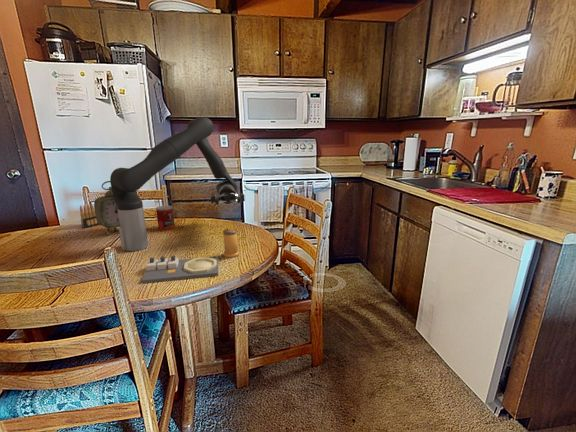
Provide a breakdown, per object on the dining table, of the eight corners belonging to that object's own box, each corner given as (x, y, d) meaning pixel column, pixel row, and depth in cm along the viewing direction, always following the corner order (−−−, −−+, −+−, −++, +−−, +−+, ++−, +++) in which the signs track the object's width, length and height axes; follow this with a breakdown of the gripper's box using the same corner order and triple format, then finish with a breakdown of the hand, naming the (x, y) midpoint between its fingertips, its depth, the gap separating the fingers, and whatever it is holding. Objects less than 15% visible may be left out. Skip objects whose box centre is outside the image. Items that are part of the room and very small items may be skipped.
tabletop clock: (105, 237, 138) (95, 183, 131) (97, 233, 143) (87, 182, 136) (136, 229, 149) (129, 179, 142) (127, 226, 154) (120, 178, 147)
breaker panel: (141, 283, 95) (139, 271, 94) (151, 264, 109) (149, 254, 107) (218, 275, 100) (217, 264, 99) (218, 258, 113) (217, 248, 112)
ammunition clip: (84, 228, 150) (79, 205, 147) (82, 228, 151) (77, 205, 148) (105, 223, 159) (101, 201, 156) (103, 222, 160) (99, 201, 157)
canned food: (165, 231, 145) (162, 209, 142) (155, 229, 149) (152, 207, 146) (178, 227, 152) (175, 206, 149) (168, 225, 156) (165, 204, 153)
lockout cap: (223, 258, 114) (222, 233, 111) (223, 252, 119) (222, 229, 117) (239, 257, 115) (238, 232, 112) (238, 251, 121) (237, 227, 118)
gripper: (211, 186, 135) (209, 193, 120) (242, 185, 138) (245, 191, 123) (212, 202, 137) (211, 211, 122) (243, 200, 140) (245, 209, 125)
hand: (228, 201), depth 123 cm, fingers open, 8 cm apart
